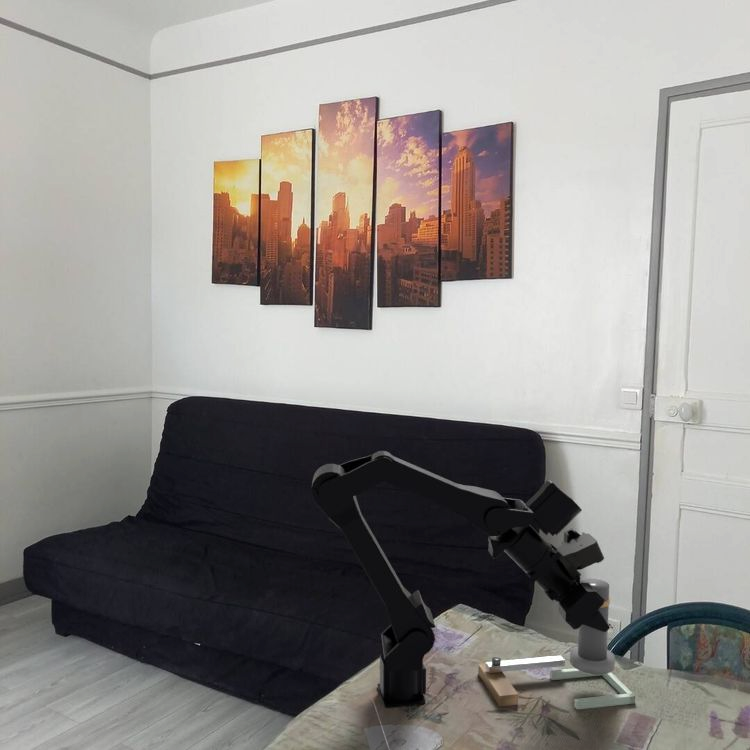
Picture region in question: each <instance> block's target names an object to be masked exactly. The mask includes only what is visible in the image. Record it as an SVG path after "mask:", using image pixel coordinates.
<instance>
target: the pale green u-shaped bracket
mask: <svg viewBox="0 0 750 750" xmlns="http://www.w3.org/2000/svg"><path fill="white" fill-rule="evenodd" d="M598 676H600V677H601V676H602V677H603V678H604V679H605V681H607V682H608V683H609V684H610V685H611V686H612V687H613V688H614V690H616V692H618V693H619V694H612V695H603V696H601V695H600V696H591V697H582V698H574V699H573V700H574V702H573V705H574V708H575V709H576V710H584V709H585V710H586V709H595V708H603V707H604V708H605V707H611V706H612V707H614V706H624V705H632V704H636V695H635V694H634V693H633V692H632V691H631V690H630V689H629V688H628V687H627V686H626V685H625V684H624V683H622V681H621V680H619V678H617V676H616V675H614V674H613V673H612V672H610V673H607V674H590V673H585V672H582V671H580V670H578V669H576V668H565V669H563V668H562V669H553V670H552V669H551V670H549V679H550V680H551V681H555V680H568V679H579V678H589V677H598Z"/></svg>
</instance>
